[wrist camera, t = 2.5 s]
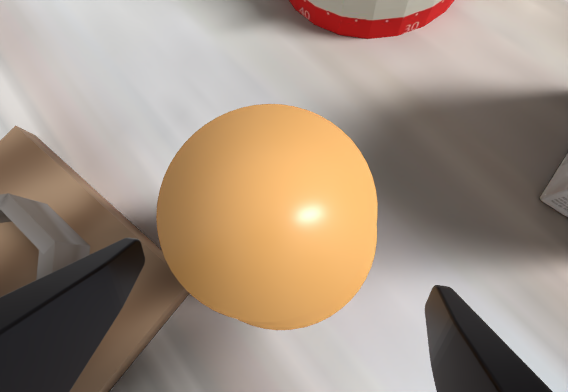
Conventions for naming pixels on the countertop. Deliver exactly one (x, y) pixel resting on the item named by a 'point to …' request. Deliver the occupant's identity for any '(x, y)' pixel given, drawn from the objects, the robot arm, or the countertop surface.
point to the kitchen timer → (371, 15)
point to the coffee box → (558, 189)
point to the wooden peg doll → (269, 216)
